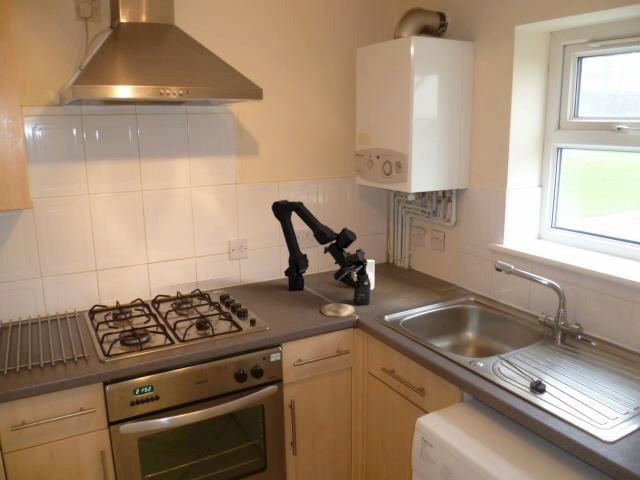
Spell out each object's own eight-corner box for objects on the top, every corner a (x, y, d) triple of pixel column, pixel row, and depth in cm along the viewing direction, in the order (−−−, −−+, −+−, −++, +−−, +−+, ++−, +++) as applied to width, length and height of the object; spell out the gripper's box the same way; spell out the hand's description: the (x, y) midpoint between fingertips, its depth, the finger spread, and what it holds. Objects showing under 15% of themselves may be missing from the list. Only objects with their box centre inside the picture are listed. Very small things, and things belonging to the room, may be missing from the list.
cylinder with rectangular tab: (371, 283, 243) (372, 257, 240) (376, 290, 234) (376, 263, 232) (351, 284, 242) (352, 258, 239) (355, 290, 233) (356, 264, 230)
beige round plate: (323, 318, 202) (323, 315, 202) (319, 306, 214) (319, 304, 214) (357, 316, 204) (357, 314, 203) (351, 304, 216) (351, 302, 216)
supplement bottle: (358, 306, 214) (358, 277, 211) (350, 301, 220) (350, 273, 217) (373, 304, 216) (374, 275, 214) (365, 299, 222) (365, 271, 220)
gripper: (339, 248, 208) (364, 280, 204) (363, 239, 223) (387, 268, 219) (323, 265, 214) (346, 296, 210) (347, 255, 229) (370, 284, 225)
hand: (363, 285), depth 216 cm, fingers open, 9 cm apart
